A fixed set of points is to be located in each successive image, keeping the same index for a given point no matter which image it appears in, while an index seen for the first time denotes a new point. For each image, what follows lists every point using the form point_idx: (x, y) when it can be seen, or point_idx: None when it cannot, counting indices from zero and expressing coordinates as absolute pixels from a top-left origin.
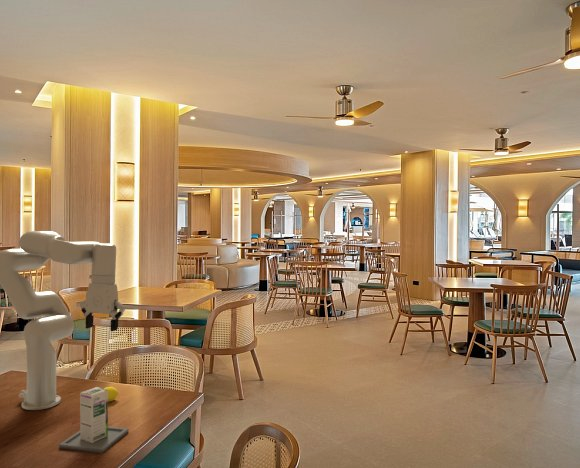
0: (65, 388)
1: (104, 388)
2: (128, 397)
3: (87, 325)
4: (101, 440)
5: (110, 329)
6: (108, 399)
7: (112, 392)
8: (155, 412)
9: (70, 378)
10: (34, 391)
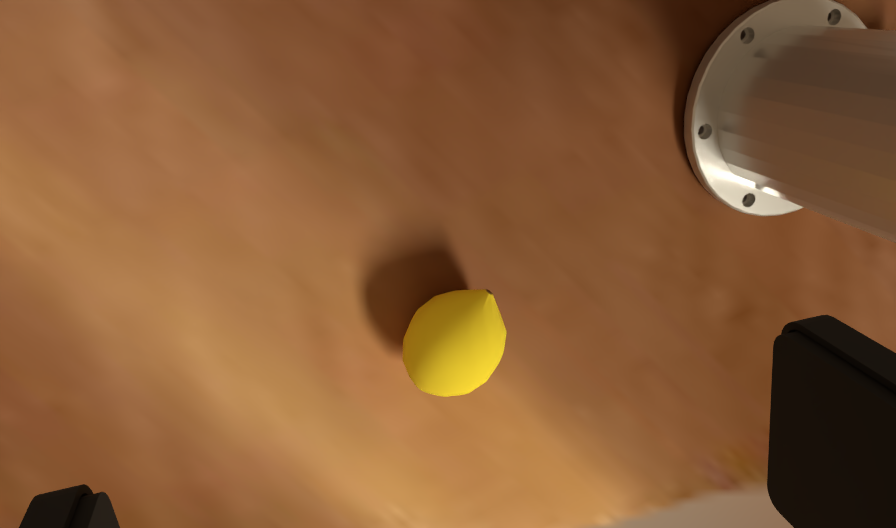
0: None
1: (490, 343)
2: (373, 418)
3: (826, 357)
4: None
5: (94, 508)
6: (422, 306)
7: (418, 345)
8: (6, 333)
9: None
10: (844, 36)
